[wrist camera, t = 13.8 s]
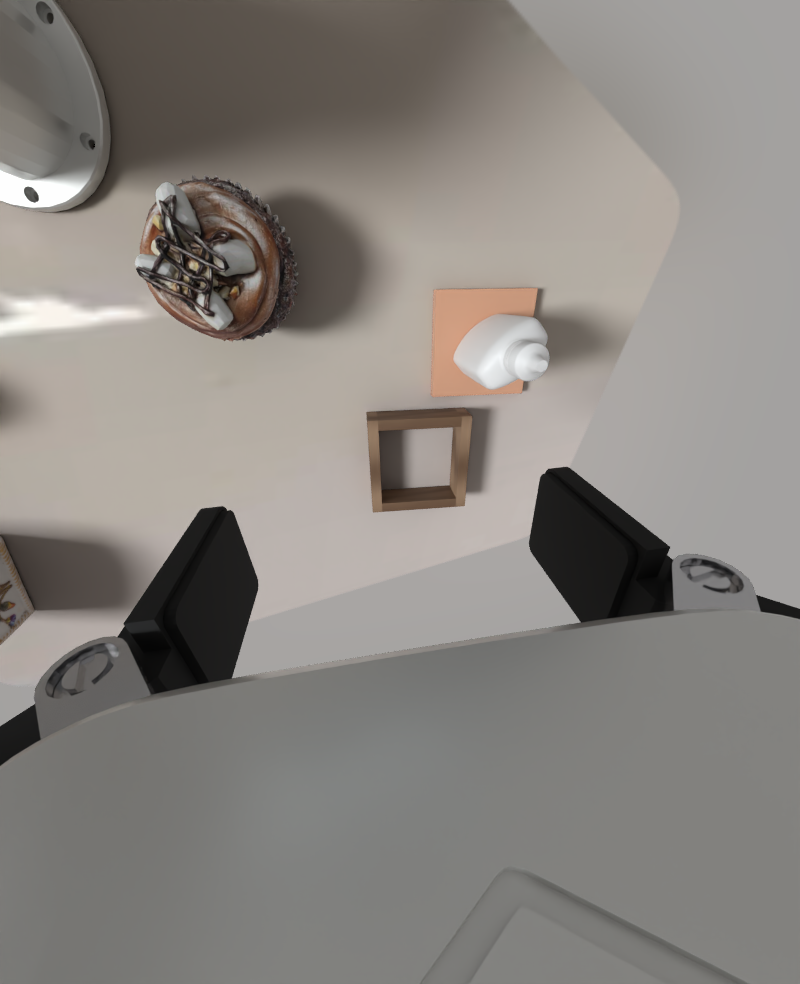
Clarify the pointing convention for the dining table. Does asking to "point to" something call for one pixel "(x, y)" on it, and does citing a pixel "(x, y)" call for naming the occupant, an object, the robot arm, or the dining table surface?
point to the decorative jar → (11, 596)
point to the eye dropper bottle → (503, 351)
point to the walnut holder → (424, 495)
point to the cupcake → (217, 259)
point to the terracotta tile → (456, 319)
